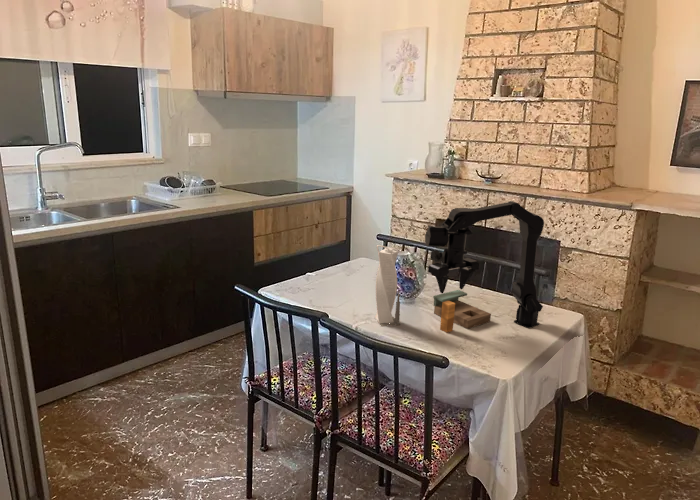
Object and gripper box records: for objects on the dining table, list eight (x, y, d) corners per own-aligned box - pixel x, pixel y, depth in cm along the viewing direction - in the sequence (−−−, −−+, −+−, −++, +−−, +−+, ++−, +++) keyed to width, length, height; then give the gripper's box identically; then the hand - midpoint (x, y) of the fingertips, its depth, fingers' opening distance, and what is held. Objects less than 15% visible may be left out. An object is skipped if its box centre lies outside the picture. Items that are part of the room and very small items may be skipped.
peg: (452, 330, 177) (455, 303, 175) (446, 332, 176) (449, 305, 173) (446, 327, 180) (448, 300, 177) (440, 329, 178) (442, 302, 175)
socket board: (491, 321, 187) (493, 303, 185) (466, 329, 179) (468, 310, 177) (456, 306, 199) (458, 289, 198) (432, 313, 192) (433, 295, 190)
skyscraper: (377, 327, 179) (381, 248, 171) (369, 318, 186) (373, 242, 179) (400, 325, 181) (405, 247, 173) (392, 316, 188) (396, 241, 181)
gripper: (458, 238, 186) (454, 280, 190) (419, 243, 176) (415, 287, 180) (482, 245, 177) (477, 289, 181) (442, 252, 167) (437, 298, 171)
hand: (451, 290), depth 179 cm, fingers open, 9 cm apart
